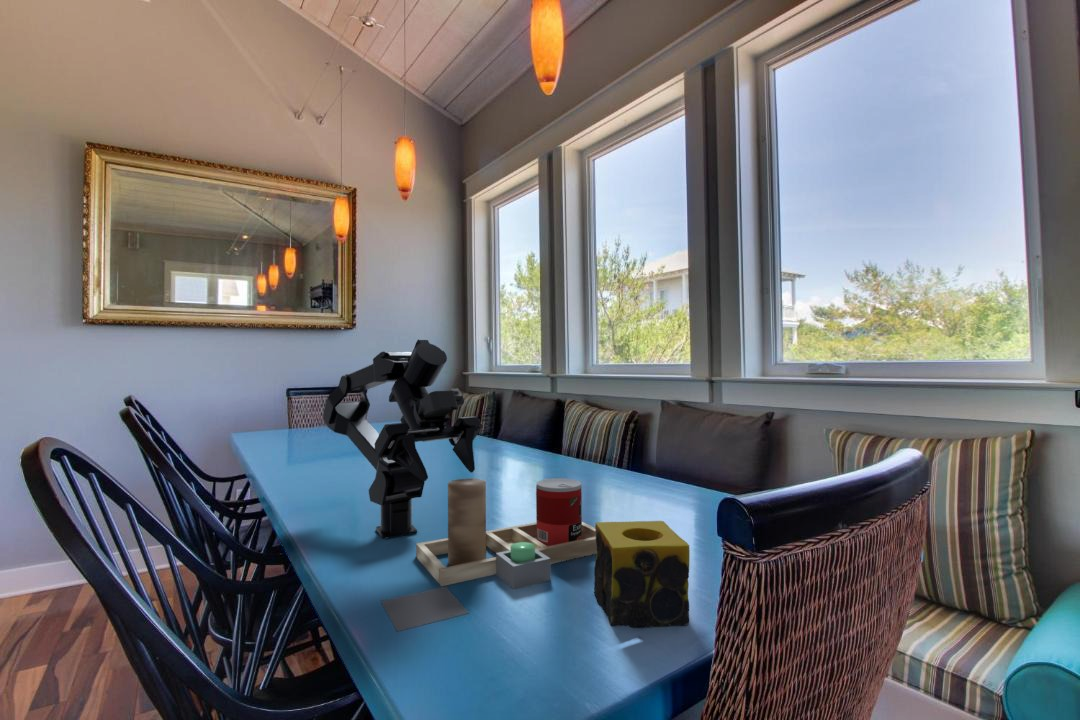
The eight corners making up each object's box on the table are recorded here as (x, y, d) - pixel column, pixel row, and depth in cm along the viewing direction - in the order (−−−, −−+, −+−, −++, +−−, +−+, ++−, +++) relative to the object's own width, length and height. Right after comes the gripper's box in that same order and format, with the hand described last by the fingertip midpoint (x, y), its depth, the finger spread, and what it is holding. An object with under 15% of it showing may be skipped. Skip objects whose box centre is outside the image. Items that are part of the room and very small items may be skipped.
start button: (506, 564, 77) (506, 544, 77) (527, 560, 79) (527, 540, 79) (517, 573, 74) (517, 552, 74) (539, 568, 76) (539, 547, 76)
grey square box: (496, 576, 77) (495, 553, 77) (531, 568, 80) (531, 545, 80) (513, 591, 72) (513, 566, 72) (550, 582, 75) (550, 558, 75)
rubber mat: (380, 604, 69) (380, 601, 69) (445, 589, 73) (445, 586, 73) (397, 634, 61) (397, 631, 61) (468, 616, 65) (468, 613, 65)
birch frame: (416, 558, 85) (416, 543, 85) (570, 529, 99) (570, 516, 99) (441, 588, 73) (441, 571, 73) (611, 550, 88) (611, 535, 88)
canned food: (579, 555, 86) (578, 489, 86) (532, 552, 87) (531, 487, 88) (584, 539, 93) (583, 478, 93) (541, 537, 95) (540, 477, 95)
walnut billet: (440, 565, 82) (439, 483, 82) (467, 554, 86) (467, 476, 87) (466, 575, 78) (466, 489, 78) (494, 563, 83) (493, 481, 83)
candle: (593, 593, 72) (592, 521, 72) (663, 590, 73) (663, 519, 73) (609, 631, 62) (608, 547, 62) (691, 626, 62) (690, 544, 63)
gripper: (382, 374, 83) (418, 451, 75) (476, 372, 96) (515, 438, 88) (361, 419, 89) (392, 496, 81) (452, 412, 101) (486, 477, 93)
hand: (450, 475), depth 85 cm, fingers open, 9 cm apart
